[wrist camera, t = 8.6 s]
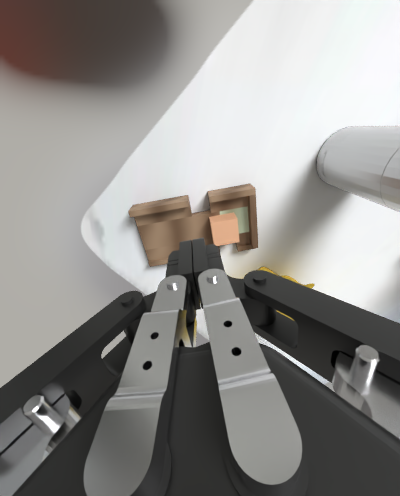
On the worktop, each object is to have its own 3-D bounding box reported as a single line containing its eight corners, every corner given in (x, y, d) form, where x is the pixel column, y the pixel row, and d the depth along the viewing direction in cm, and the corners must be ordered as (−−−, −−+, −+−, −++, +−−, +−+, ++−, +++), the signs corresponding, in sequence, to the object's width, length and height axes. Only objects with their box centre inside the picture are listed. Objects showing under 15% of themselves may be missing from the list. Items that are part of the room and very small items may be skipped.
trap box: (249, 183, 39) (255, 188, 36) (253, 243, 44) (258, 252, 41) (132, 205, 39) (128, 211, 36) (151, 261, 45) (148, 271, 42)
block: (233, 212, 39) (237, 218, 37) (236, 234, 42) (239, 242, 39) (209, 216, 40) (210, 223, 37) (212, 239, 42) (214, 246, 39)
